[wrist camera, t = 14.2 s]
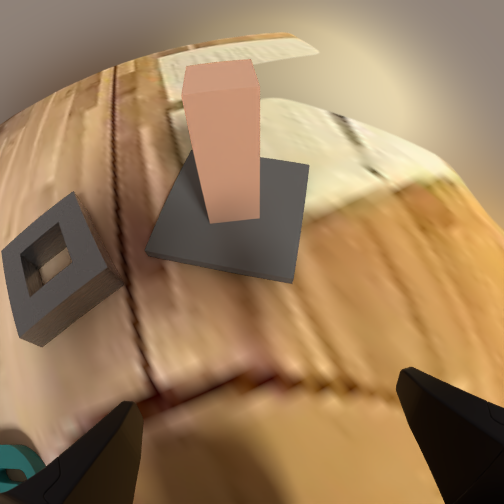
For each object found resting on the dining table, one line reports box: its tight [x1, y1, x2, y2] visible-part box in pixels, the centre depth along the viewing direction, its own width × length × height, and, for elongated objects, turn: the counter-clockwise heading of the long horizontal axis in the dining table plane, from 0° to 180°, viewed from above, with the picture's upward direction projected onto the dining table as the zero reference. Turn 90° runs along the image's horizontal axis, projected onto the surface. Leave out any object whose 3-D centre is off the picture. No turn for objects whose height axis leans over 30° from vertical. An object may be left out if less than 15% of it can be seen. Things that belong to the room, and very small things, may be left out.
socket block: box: [1, 191, 124, 347], centre depth 23 cm, size 11×11×4 cm
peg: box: [181, 59, 260, 224], centre depth 21 cm, size 4×4×13 cm
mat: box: [145, 150, 309, 284], centre depth 27 cm, size 13×13×1 cm
